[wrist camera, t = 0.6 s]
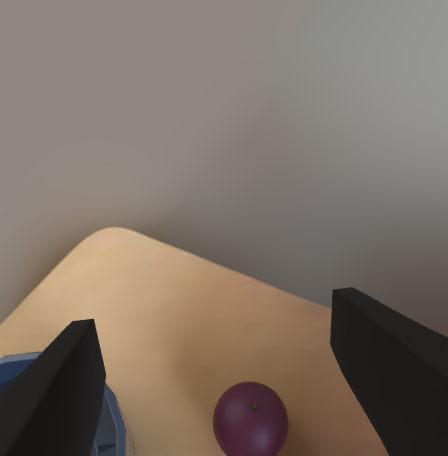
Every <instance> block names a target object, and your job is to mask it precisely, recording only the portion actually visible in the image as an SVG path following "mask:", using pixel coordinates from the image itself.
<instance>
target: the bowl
mask: <svg viewBox="0 0 448 456" xmlns="http://www.w3.org/2000/svg"><path fill="white" fill-rule="evenodd" d="M41 353H42V352H33V353H25V354H17V355H10V356H4V357H1V358H0V392H1V391H2V390H3V389H4V388H5V387H7V386H8V385H9V384H10V383H11V382H12V381H13V380H14V379H15V378H16V377H17V376H18V375H20V374H21V373H22V372H23V371H24V370H25V369H26V368H27V367H28V366H29V365H30V364H31V363H32V362H33V361H34V360H35V359H36V358H37V357H38V356H39V355H40V354H41ZM90 456H135V450H134V446H133V443H132V440H131V437H130V434H129V431H128V428H127V425H126V421H125V419H124V416H123V414H122V411H121V409H120V406H119V404H118V401H117V399H116V396H115V394H114V393H113V392H112V391H111V389H110V388H109V387H108V386H107V384H106V383H105V389H104V398H103V406H102V411H101V415H100V419H99V423H98V427H97V431H96V435H95V439H94V443H93V447H92V451H91V455H90Z"/></svg>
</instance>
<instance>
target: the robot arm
mask: <svg viewBox="0 0 448 456" xmlns="http://www.w3.org/2000/svg"><path fill="white" fill-rule="evenodd" d="M330 345H331V347H332V350H333V352H334V355H335V357H336V360H337V362H338V364H339V367H340V369H341V371H342V373H343V375H344V377H345V379H346V381H347V382H348V384H349V386H350V388H351V389H352V391H353V393H354V394H355V396H356V398H357V400H358V401H359V403H360V405H361V406H362V408H363V410H364V411H365V413H366V415H367V417H368V418H369V420H370V422H371V423H372V425H373V427H374V428H375V430H376V432H377V433H378V435H379V437H380V439H381V440H382V442H383V444H384V446H385V448H386V450H387V452H388V454H389V456H448V337H446V336H443V335H441V334H439V333H437V332H435V331H433V330H431V329H429V328H427V327H425V326H423V325H421V324H419V323H417V322H415V321H413V320H411V319H409V318H407V317H406V316H404V315H402V314H400V313H398V312H396V311H395V310H393V309H391V308H389V307H387V306H386V305H384V304H382V303H380V302H379V301H377V300H375V299H373V298H371V297H370V296H368V295H366V294H364V293H362V292H361V291H358V290H357V289H354V288H352V287H351V288H343V289H334V290H333V296H332V317H331V338H330ZM105 380H106V372H105V367H104V363H103V358H102V354H101V349H100V345H99V340H98V336H97V331H96V327H95V322H94V319H87V320H79V321H72V322H71V323H70V324H69V325H68V326H67V327H66V328H65V329H64V330H63V331H62V332H61V333H60V334H59V335H58V336H57V337H56V338H55V340H54V341H53V342H52V343H51V344H50V345H49V346H48V347H47V348H46V349H45V350H44V351H43V352H42V353H41V354H40V355H39V356H38V357H37V358H36V359H35V360H34V361H33V362H32V363H31V364H30V365H29V366H28V367H27V368H26V369H25V370H24V371H23V372H22V373H21V374H20V375H18V376H17V377H16V378H15V379H14V380H13V381H12V382H11V383H10V384H9V385H8V386H7V387H5V388H4V389H3V390H2V391H1V392H0V456H90V455H91V451H92V447H93V443H94V439H95V435H96V431H97V427H98V423H99V419H100V415H101V411H102V406H103V398H104V389H105Z"/></svg>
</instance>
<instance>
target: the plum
mask: <svg viewBox="0 0 448 456" xmlns="http://www.w3.org/2000/svg"><path fill="white" fill-rule="evenodd" d="M213 428H214V434H215V437H216V440H217V442H218V444H219V446H220V447H221V449H222V450H223V451H224V453H225V454H226V455H227V456H276V455H277V454H278V452H279V451H280V450H281V448H282V447H283V445H284V443H285V441H286V437H287V433H288V416H287V411H286V408H285V406H284V404H283V402H282V400H281V399H280V397H279V396H278V395H277V394H276V393H275V392H274V391H273V390H272V389H271V388H269V387H268V386H266V385H264V384H261V383H258V382H242V383H238V384H236V385H234V386H232V387H230V388H229V389H228V390H227V391H226V392H224V394H223V395H222V396H221V397H220V399H219V401H218V403H217V405H216V408H215V411H214V416H213Z"/></svg>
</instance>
